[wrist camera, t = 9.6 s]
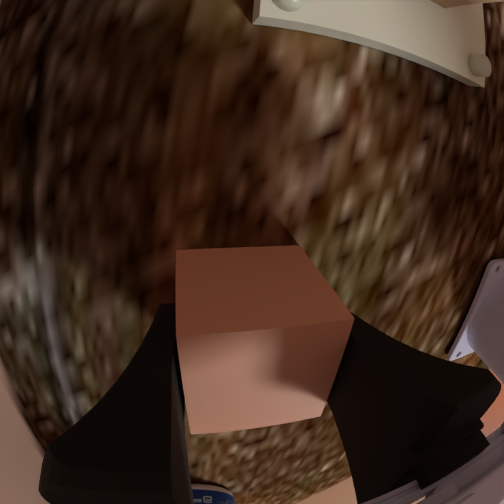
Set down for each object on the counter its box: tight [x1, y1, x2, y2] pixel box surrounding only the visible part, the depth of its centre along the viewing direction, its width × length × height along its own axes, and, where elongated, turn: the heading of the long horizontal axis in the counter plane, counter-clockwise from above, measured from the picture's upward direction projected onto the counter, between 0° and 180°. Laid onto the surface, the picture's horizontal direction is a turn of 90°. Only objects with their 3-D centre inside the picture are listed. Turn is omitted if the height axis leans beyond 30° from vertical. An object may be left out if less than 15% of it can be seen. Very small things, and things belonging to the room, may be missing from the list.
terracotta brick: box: [176, 245, 354, 434], centre depth 10 cm, size 4×4×4 cm
